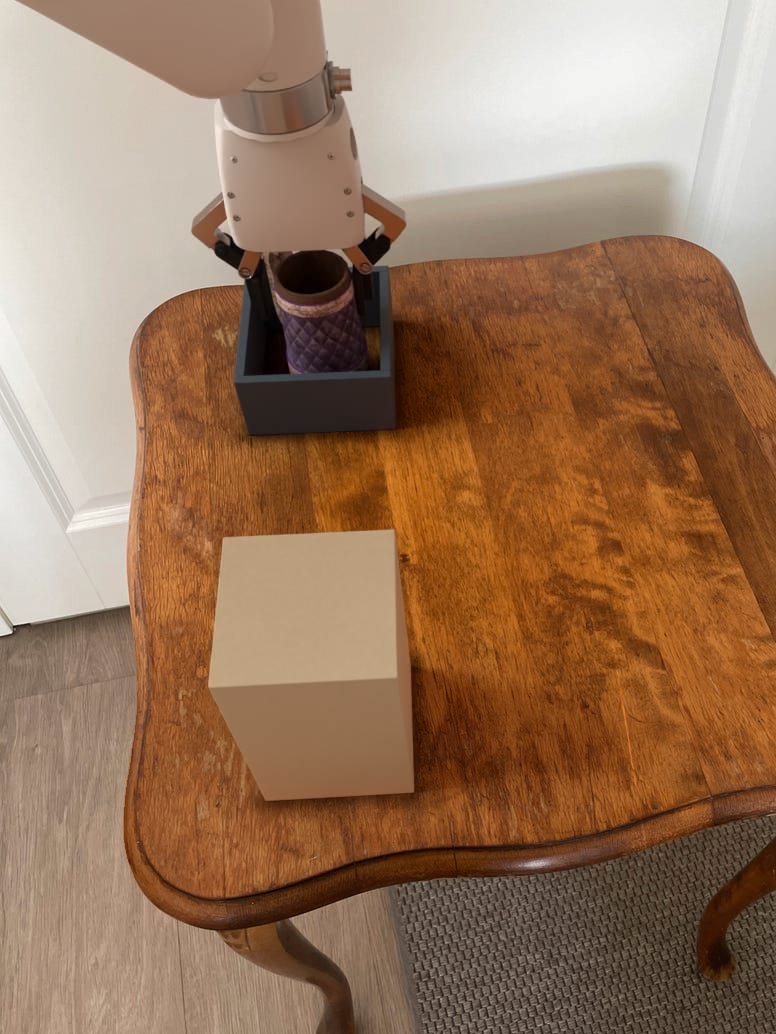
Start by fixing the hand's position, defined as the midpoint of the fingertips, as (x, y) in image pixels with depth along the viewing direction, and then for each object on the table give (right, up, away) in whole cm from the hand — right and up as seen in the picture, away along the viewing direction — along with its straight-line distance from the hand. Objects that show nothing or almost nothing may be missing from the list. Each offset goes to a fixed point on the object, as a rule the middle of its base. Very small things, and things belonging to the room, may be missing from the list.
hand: (314, 305), depth 78 cm
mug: (0, -4, +6) cm, 8 cm away
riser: (+4, -34, -12) cm, 36 cm away
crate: (0, -4, +6) cm, 7 cm away
